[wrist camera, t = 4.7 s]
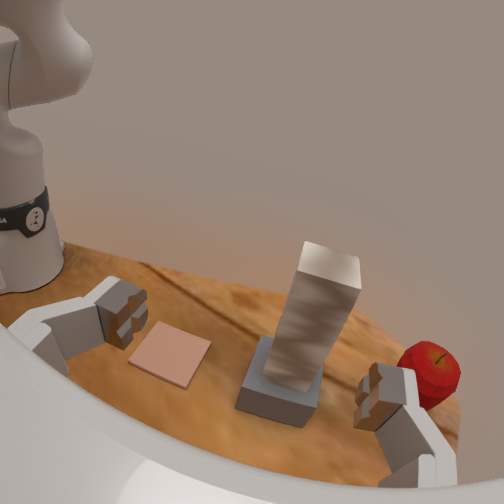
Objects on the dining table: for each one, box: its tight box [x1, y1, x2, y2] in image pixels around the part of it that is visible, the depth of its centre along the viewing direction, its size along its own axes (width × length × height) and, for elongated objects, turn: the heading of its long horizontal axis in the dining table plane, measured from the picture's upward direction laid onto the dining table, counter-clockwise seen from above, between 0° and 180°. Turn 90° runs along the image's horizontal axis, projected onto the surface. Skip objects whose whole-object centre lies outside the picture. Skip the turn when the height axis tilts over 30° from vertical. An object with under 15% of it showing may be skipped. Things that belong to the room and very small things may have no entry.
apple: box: [396, 341, 461, 412], centre depth 28 cm, size 9×8×12 cm
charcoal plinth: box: [235, 335, 324, 428], centre depth 31 cm, size 8×8×5 cm
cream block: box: [260, 241, 361, 393], centre depth 26 cm, size 5×5×14 cm
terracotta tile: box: [128, 321, 211, 390], centre depth 34 cm, size 8×8×1 cm
